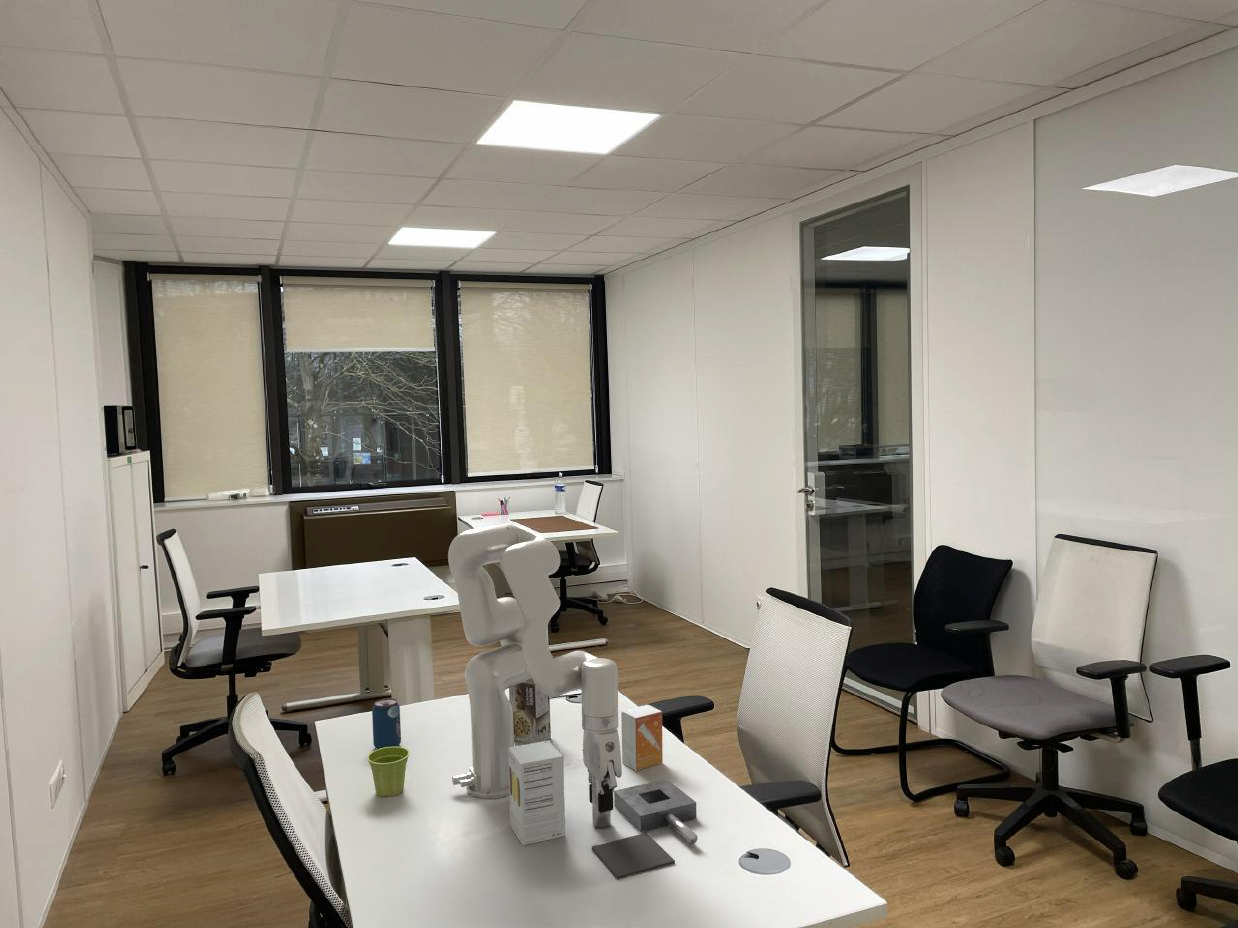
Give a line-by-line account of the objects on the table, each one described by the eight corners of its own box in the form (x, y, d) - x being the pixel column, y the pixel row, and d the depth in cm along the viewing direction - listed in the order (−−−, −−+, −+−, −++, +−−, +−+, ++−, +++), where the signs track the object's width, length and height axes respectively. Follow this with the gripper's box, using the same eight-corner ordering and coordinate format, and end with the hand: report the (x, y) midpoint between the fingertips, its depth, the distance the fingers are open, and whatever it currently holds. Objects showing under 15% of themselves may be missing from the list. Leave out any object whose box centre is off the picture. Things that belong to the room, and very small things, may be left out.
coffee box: (552, 737, 224) (550, 677, 223) (537, 745, 219) (535, 684, 218) (524, 731, 229) (523, 672, 228) (509, 739, 224) (507, 679, 223)
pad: (617, 879, 155) (617, 876, 155) (591, 849, 166) (591, 846, 166) (674, 863, 160) (674, 860, 160) (646, 835, 171) (646, 832, 171)
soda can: (405, 748, 219) (403, 702, 219) (378, 754, 216) (376, 708, 215) (395, 739, 225) (394, 695, 224) (370, 746, 221) (368, 700, 221)
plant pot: (419, 790, 194) (417, 753, 194) (382, 804, 188) (381, 766, 187) (396, 778, 201) (395, 743, 200) (360, 792, 194) (359, 755, 193)
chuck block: (663, 855, 163) (663, 837, 163) (614, 806, 184) (614, 790, 184) (721, 839, 169) (721, 822, 169) (667, 793, 190) (667, 778, 190)
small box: (636, 771, 202) (635, 718, 201) (621, 762, 207) (620, 710, 206) (663, 763, 206) (662, 710, 205) (648, 754, 212) (647, 703, 211)
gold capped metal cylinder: (596, 829, 174) (595, 766, 173) (588, 820, 177) (587, 759, 176) (615, 825, 175) (614, 763, 174) (606, 816, 179) (605, 755, 178)
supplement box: (509, 825, 177) (506, 746, 176) (551, 816, 181) (549, 738, 180) (522, 846, 168) (520, 763, 167) (566, 836, 172) (564, 755, 171)
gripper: (634, 730, 169) (635, 819, 170) (600, 704, 184) (601, 786, 185) (599, 737, 166) (600, 828, 167) (568, 709, 181) (569, 793, 182)
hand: (601, 805), depth 176 cm, fingers closed on gold capped metal cylinder, 3 cm apart
